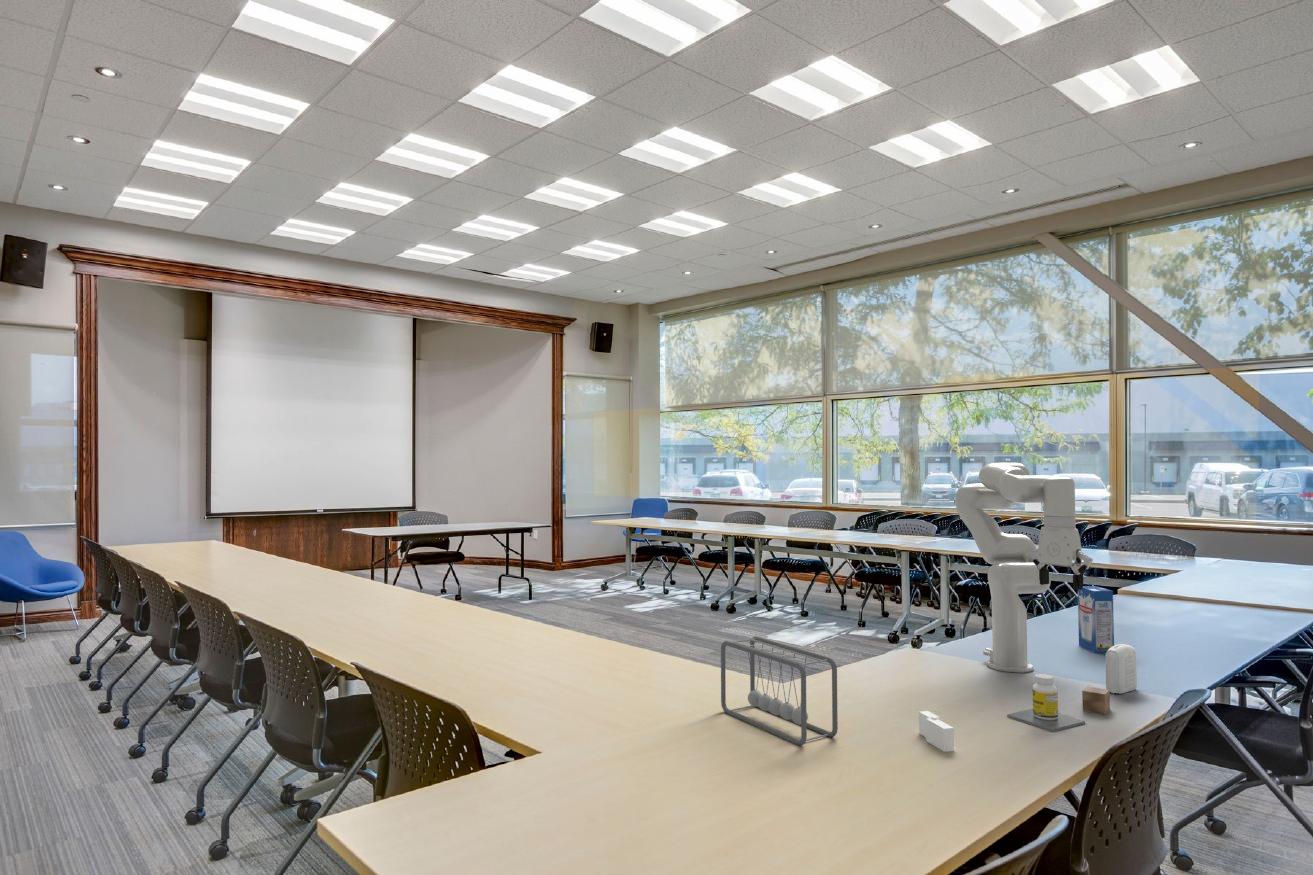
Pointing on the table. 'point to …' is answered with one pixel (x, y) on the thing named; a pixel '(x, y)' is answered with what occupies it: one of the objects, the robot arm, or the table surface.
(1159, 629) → the table surface
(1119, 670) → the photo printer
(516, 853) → the table surface
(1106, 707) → the walnut block
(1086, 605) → the milk carton
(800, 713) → the newton's cradle
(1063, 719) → the slate coaster
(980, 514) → the robot arm
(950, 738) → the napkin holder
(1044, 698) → the supplement bottle
